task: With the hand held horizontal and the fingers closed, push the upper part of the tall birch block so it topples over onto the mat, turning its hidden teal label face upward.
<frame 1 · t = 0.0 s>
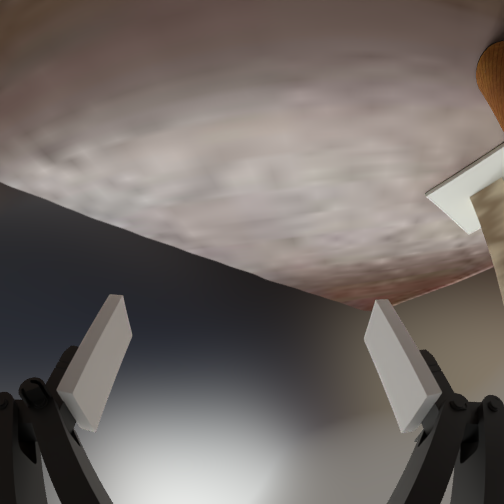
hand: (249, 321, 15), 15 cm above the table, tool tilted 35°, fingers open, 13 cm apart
block: (491, 195, 28), resting on mat
disposable coffee cup: (502, 70, 15), on the table
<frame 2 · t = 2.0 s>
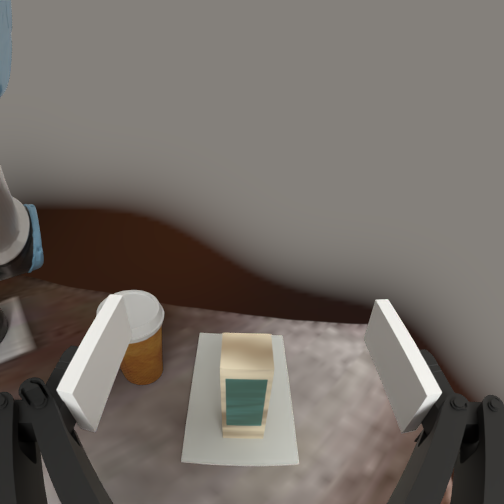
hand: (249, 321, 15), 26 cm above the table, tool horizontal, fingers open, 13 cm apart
block: (243, 422, 36), resting on mat
disposable coffee cup: (143, 370, 43), on the table
mat: (240, 391, 41), on the table
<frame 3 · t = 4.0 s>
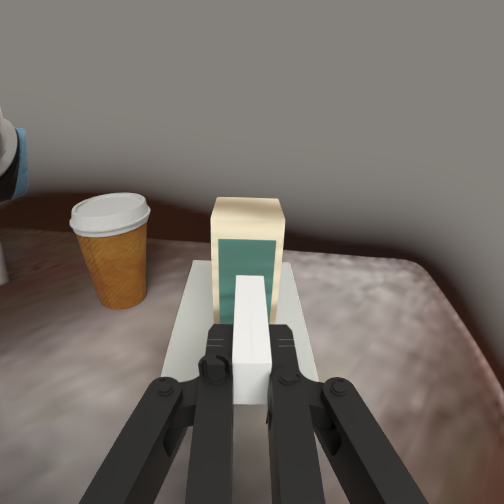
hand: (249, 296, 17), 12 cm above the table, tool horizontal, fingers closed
block: (243, 346, 29), resting on mat
disposable coffee cup: (123, 296, 37), on the table
mat: (240, 315, 34), on the table
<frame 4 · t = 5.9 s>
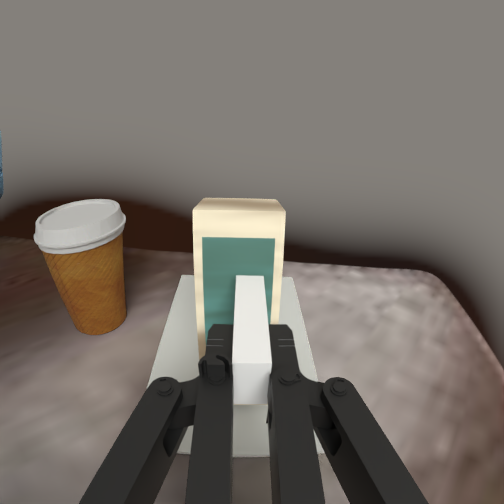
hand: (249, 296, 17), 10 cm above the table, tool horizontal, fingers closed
block: (237, 383, 23), point 1 cm above the table, tilted 9°, touching gripper, mat
disposable coffee cup: (100, 318, 31), on the table
mat: (234, 344, 28), on the table
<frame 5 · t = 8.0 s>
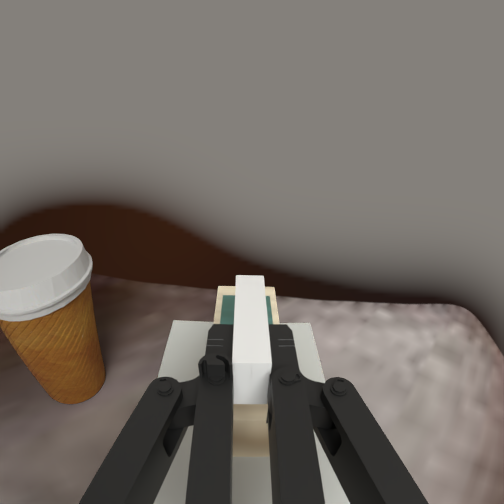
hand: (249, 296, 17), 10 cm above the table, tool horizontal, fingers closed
block: (246, 440, 16), point 3 cm above the table, tilted 90°, touching mat
disposable coffee cup: (74, 379, 23), on the table
mat: (240, 425, 20), on the table
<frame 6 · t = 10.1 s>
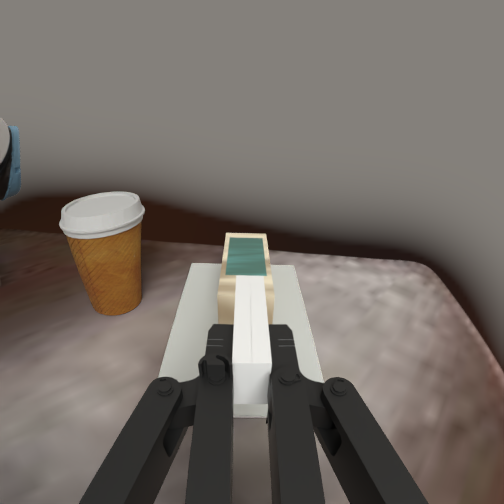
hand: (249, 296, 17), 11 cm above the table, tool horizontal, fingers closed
block: (245, 318, 28), point 3 cm above the table, tilted 90°, touching mat
disposable coffee cup: (117, 301, 34), on the table
mat: (241, 322, 32), on the table
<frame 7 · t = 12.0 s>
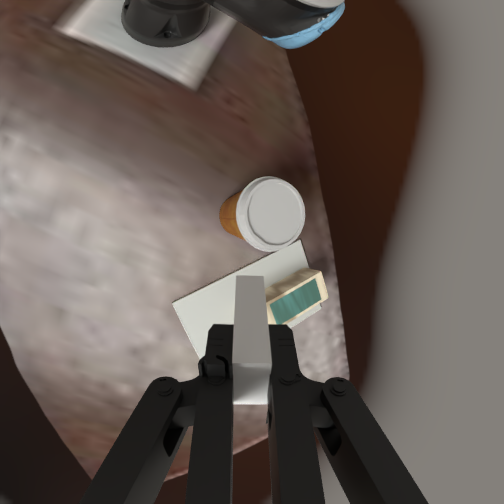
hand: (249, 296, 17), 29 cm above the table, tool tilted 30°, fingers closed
block: (247, 322, 48), point 3 cm above the table, tilted 90°, touching mat
disposable coffee cup: (237, 215, 49), on the table
mat: (254, 306, 51), on the table
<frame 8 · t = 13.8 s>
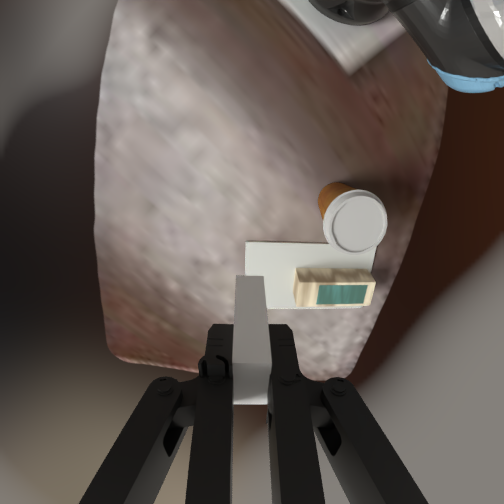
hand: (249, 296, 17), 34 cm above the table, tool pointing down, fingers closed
block: (295, 287, 54), point 3 cm above the table, tilted 90°, touching mat
disposable coffee cup: (335, 199, 51), on the table
mat: (309, 277, 57), on the table
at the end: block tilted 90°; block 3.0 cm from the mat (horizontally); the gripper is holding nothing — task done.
